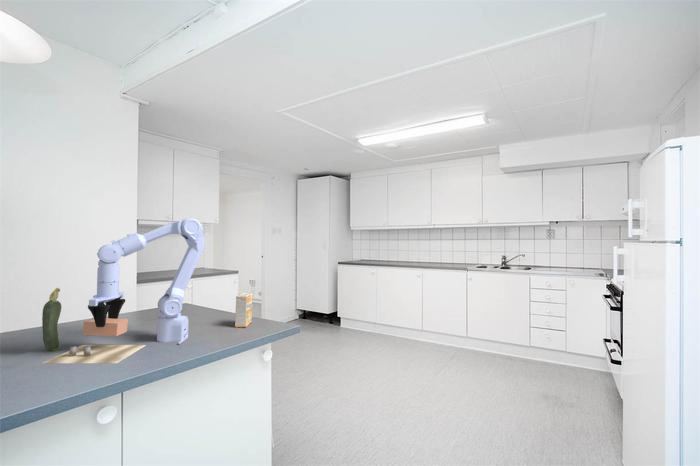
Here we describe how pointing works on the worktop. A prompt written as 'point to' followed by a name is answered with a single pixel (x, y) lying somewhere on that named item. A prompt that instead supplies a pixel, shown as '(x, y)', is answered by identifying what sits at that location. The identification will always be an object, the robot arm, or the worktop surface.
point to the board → (96, 354)
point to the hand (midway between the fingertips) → (106, 324)
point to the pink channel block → (106, 327)
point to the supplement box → (243, 309)
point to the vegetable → (51, 321)
